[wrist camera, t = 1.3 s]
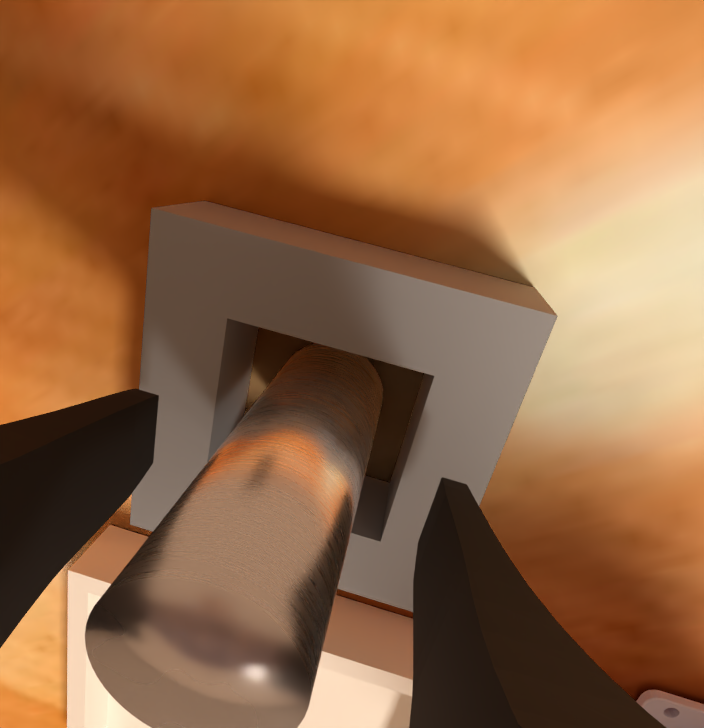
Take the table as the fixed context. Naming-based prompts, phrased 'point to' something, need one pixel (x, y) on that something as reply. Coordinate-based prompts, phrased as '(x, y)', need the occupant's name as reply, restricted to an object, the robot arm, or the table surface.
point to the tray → (334, 675)
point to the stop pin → (246, 560)
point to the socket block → (341, 331)
